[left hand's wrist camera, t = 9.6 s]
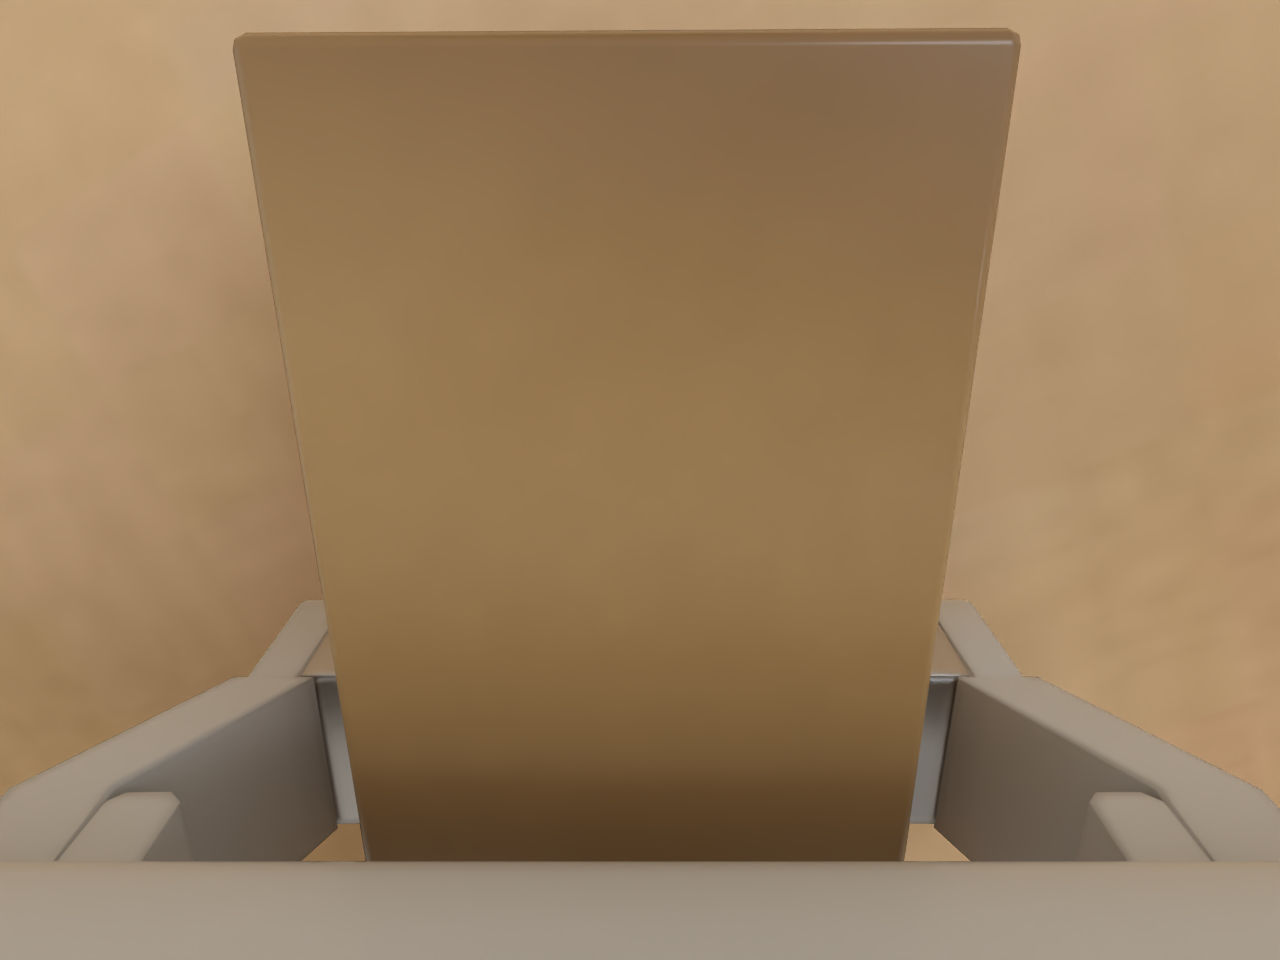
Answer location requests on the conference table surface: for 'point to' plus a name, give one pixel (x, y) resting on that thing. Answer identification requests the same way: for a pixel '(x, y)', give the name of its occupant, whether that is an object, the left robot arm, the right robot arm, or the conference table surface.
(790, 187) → the beam
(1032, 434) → the conference table surface
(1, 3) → the conference table surface
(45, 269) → the conference table surface
